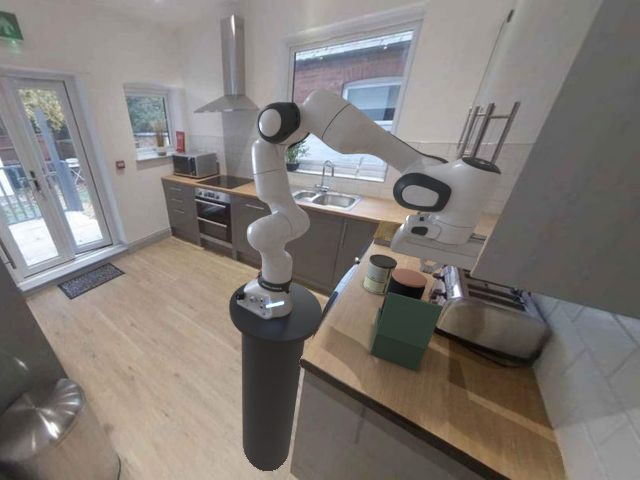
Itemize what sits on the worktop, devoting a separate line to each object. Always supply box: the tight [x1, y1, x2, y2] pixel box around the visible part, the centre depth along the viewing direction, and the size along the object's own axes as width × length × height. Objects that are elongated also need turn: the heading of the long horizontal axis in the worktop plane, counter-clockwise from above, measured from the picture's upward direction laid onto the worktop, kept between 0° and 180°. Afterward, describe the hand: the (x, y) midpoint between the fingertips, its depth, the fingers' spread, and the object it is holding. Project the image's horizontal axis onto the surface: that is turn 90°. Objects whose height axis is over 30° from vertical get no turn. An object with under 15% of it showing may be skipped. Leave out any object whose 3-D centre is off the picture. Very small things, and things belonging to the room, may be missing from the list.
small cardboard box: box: [372, 219, 404, 248], centre depth 160 cm, size 35×14×6 cm, turn 146°
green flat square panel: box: [377, 292, 444, 351], centre depth 72 cm, size 14×13×1 cm
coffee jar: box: [381, 268, 428, 309], centre depth 93 cm, size 11×11×18 cm
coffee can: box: [362, 253, 398, 295], centre depth 110 cm, size 10×10×14 cm
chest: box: [369, 307, 426, 372], centre depth 82 cm, size 14×13×9 cm
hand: (425, 272), depth 68 cm, fingers closed
